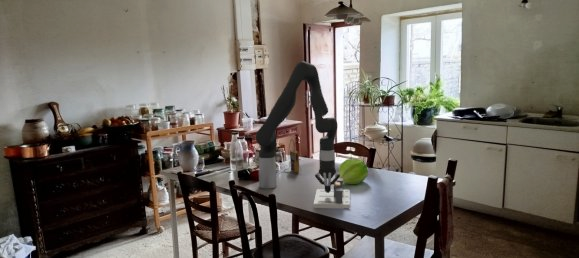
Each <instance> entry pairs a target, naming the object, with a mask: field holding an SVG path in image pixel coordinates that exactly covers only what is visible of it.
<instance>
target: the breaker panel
mask: <svg viewBox="0 0 579 258" xmlns="http://www.w3.org/2000/svg"><path fill="white" fill-rule="evenodd" d="M350 191H351V190H350V189H343V192H342V203H336V197H334V188H333V189H332V188H331V191H330V192H329V193H326V192H325V188H320V189H319V188H317V189H316V192H315V197H314V201H313V208H314V209H344V208H351V197H350V196H351V195H350V193H351V192H350Z"/></svg>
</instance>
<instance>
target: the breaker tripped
mask: <svg viewBox="0 0 579 258" xmlns="http://www.w3.org/2000/svg"><path fill="white" fill-rule="evenodd" d="M336 188H340V182H337V181H336V182H335V183H334V184H333V189H334V197H336Z"/></svg>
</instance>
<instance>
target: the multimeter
mask: <svg viewBox="0 0 579 258" xmlns="http://www.w3.org/2000/svg"><path fill="white" fill-rule="evenodd" d="M291 142H293V150H292V149H291V150H289V161H288V166H289V167H288V168H290V171H286V170H287V168H285V169H284V170H283V172H285V173H290V174H293V175H294V174H298V173H300V171H302V168H301V166H300V156H299V155H300V153H299V151H298V150H296V147H297V149H299V148H298V147H299V146H298V144H297V140H295V141H294V140H293V139H291V140H290V141H289V146H288V148H290V146H291ZM295 143H296V147H295ZM293 172H294V173H293Z"/></svg>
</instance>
